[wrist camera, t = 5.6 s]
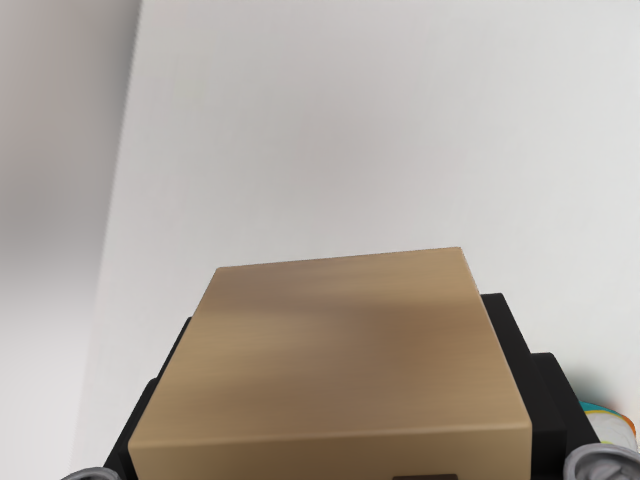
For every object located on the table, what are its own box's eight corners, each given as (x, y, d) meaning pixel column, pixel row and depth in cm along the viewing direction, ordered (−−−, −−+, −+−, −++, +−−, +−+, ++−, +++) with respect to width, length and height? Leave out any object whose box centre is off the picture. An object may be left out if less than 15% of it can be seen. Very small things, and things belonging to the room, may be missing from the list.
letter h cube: (257, 449, 14) (201, 703, 9) (216, 266, 12) (113, 463, 7) (466, 438, 13) (530, 703, 8) (461, 245, 11) (542, 442, 6)
